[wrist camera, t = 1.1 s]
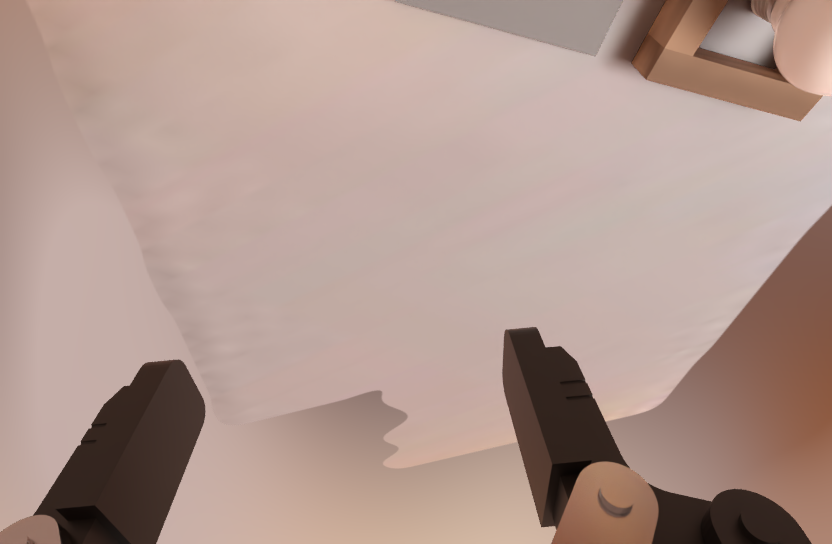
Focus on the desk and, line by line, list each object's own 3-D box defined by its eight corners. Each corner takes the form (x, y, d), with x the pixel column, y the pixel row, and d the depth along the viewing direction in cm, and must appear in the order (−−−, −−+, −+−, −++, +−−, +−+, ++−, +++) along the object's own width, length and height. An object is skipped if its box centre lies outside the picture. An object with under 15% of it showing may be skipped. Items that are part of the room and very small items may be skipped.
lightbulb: (803, 35, 30) (935, 106, 22) (702, 51, 31) (795, 125, 23) (850, -83, 26) (1035, -46, 18) (731, -61, 27) (858, -17, 19)
